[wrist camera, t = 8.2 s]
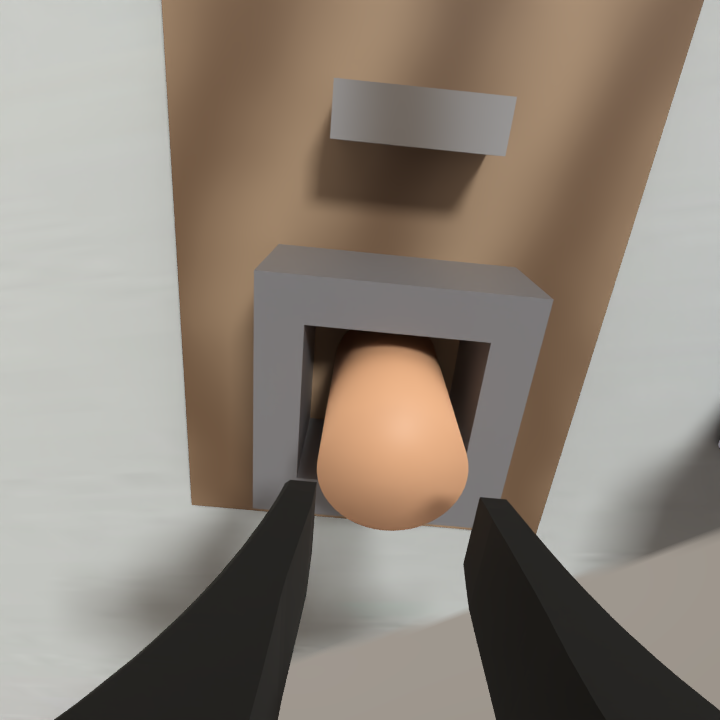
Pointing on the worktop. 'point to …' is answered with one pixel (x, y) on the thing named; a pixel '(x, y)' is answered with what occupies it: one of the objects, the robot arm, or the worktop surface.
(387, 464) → the peg
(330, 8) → the dock board
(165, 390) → the worktop surface
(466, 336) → the socket
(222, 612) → the robot arm
